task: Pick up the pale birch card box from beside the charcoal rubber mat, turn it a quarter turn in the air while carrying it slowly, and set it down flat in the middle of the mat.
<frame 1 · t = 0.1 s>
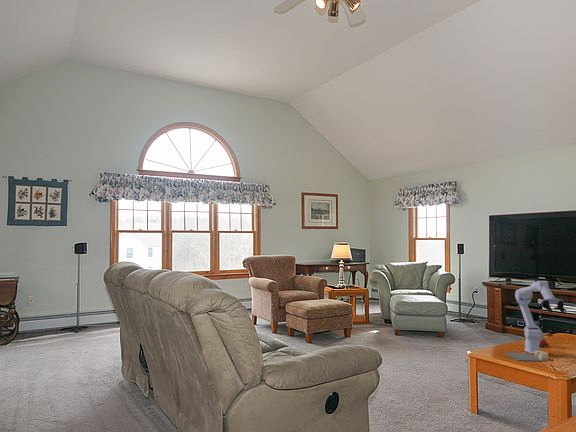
hand: (557, 311, 283), 32 cm above the table, tool tilted 50°, fingers open, 7 cm apart
charcoal rubber mat: (523, 357, 294), on the table
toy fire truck: (543, 346, 329), on the table
birch card box: (541, 358, 294), on the table
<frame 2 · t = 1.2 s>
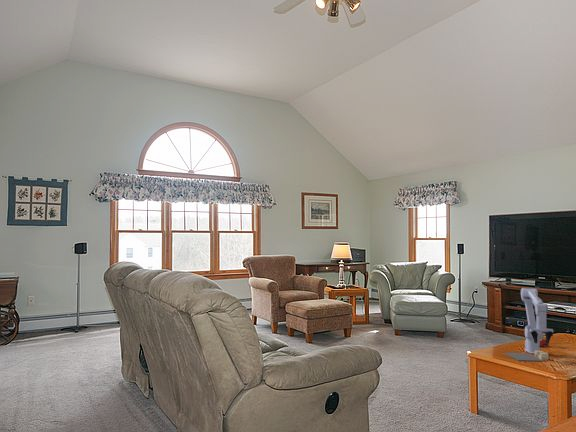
hand: (541, 343, 294), 10 cm above the table, tool pointing down, fingers open, 7 cm apart
nothing on the table moved.
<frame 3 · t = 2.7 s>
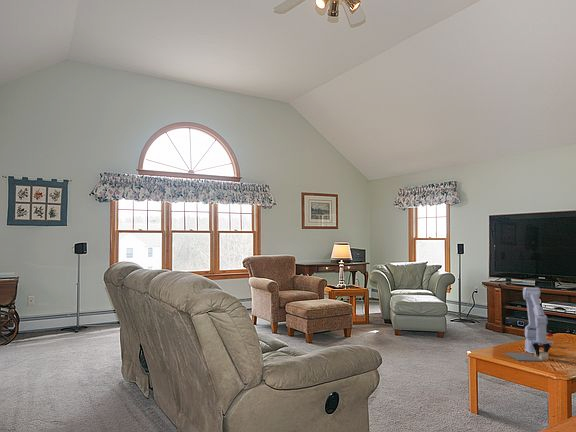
hand: (541, 355, 294), 2 cm above the table, tool pointing down, fingers closed on birch card box, 4 cm apart
birch card box: (541, 358, 294), on the table, touching gripper
everything else where it was.
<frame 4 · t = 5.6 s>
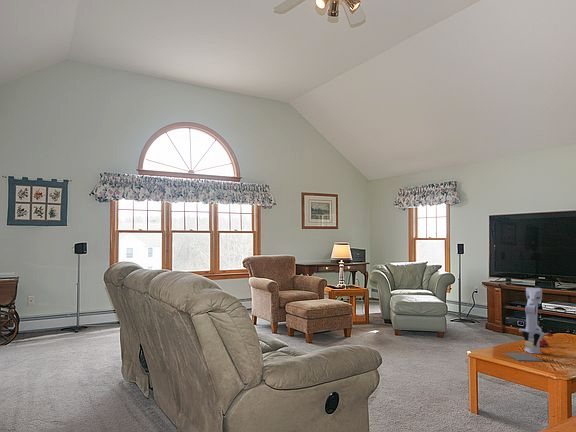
hand: (531, 344, 294), 8 cm above the table, tool pointing down, fingers closed on birch card box, 4 cm apart
birch card box: (531, 347, 294), point 7 cm above the table, touching gripper
everything else where it was.
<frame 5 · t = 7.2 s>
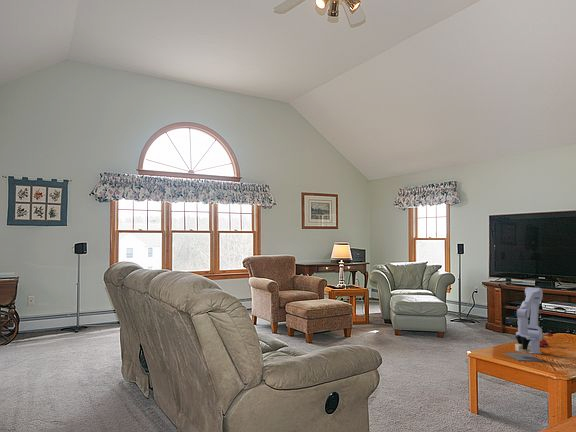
hand: (523, 348, 294), 6 cm above the table, tool pointing down, fingers closed on birch card box, 4 cm apart
birch card box: (522, 350, 294), point 4 cm above the table, touching gripper
everything else where it was.
when the fingers open (3 cm above the table, at t = 8.5 s): birch card box drops 1 cm, resting on charcoal rubber mat.
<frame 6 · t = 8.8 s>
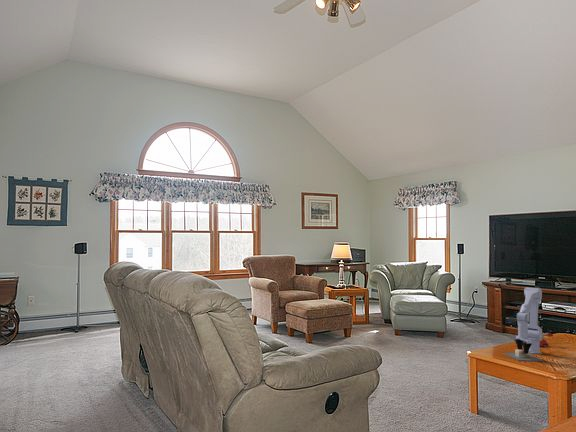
hand: (523, 352, 294), 3 cm above the table, tool pointing down, fingers open, 7 cm apart
birch card box: (523, 356, 294), point 1 cm above the table, touching charcoal rubber mat
everything else where it was.
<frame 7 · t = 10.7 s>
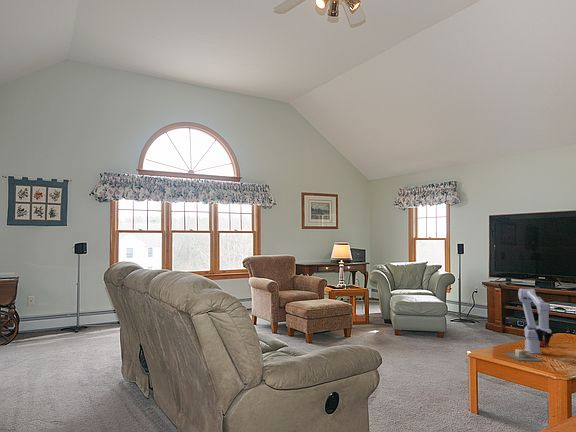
hand: (543, 342, 295), 10 cm above the table, tool pointing down, fingers open, 7 cm apart
nothing on the table moved.
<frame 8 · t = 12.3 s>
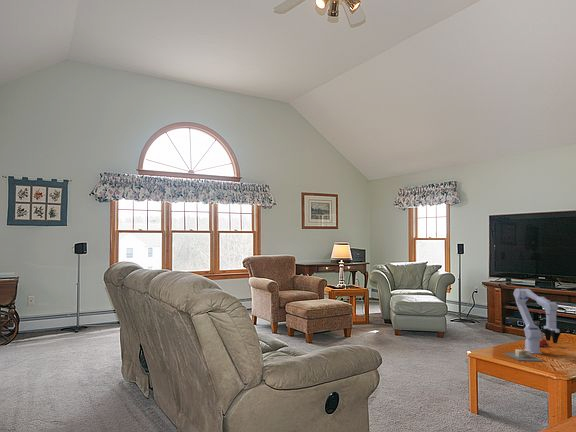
hand: (551, 341, 295), 10 cm above the table, tool pointing down, fingers open, 7 cm apart
nothing on the table moved.
at the end: birch card box inside the target area (0.0 cm from its centre), point 0.6 cm above the table; birch card box tilted 0°; birch card box touching charcoal rubber mat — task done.
